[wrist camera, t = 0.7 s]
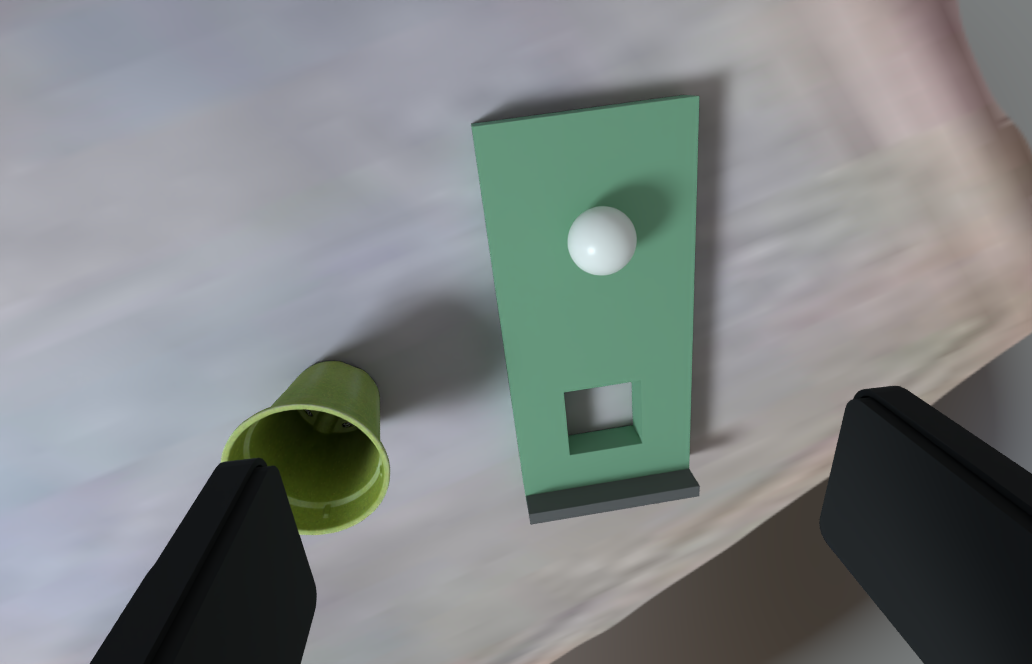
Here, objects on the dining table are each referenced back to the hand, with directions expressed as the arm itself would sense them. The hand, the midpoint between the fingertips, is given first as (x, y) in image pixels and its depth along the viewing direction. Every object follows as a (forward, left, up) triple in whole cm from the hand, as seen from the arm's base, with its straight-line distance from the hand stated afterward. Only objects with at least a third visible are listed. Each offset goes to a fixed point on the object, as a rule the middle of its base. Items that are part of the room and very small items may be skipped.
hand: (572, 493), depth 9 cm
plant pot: (+13, -13, -28) cm, 33 cm away
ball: (+3, +6, -23) cm, 24 cm away
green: (+10, +6, -28) cm, 30 cm away
